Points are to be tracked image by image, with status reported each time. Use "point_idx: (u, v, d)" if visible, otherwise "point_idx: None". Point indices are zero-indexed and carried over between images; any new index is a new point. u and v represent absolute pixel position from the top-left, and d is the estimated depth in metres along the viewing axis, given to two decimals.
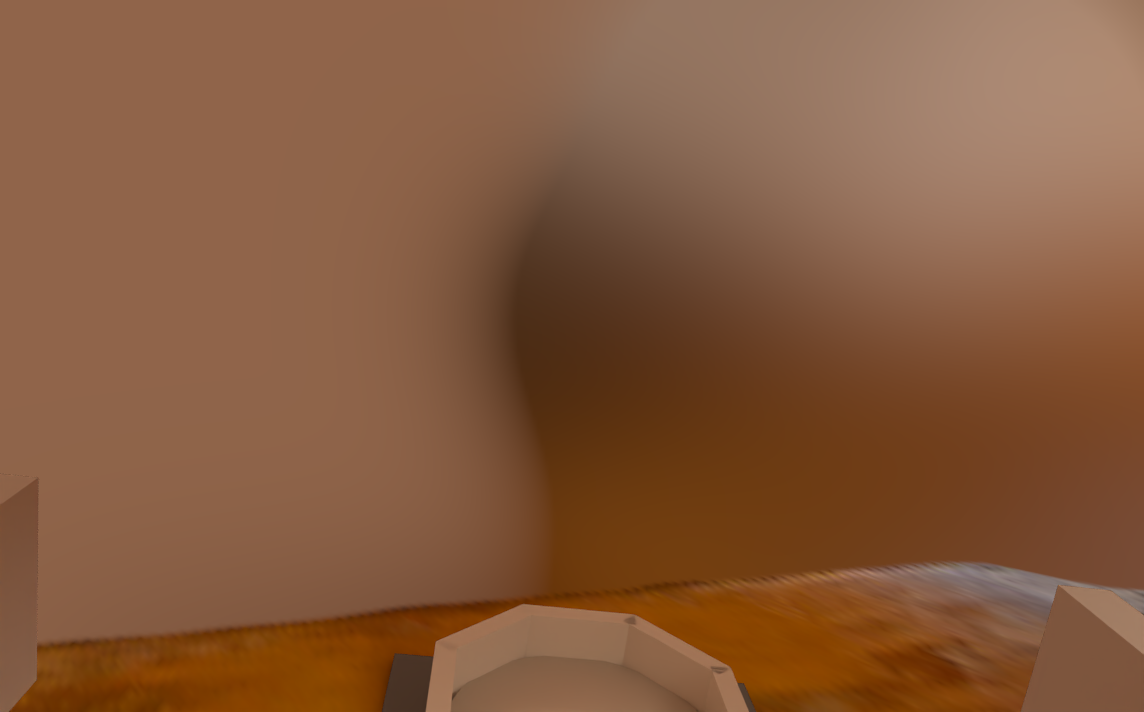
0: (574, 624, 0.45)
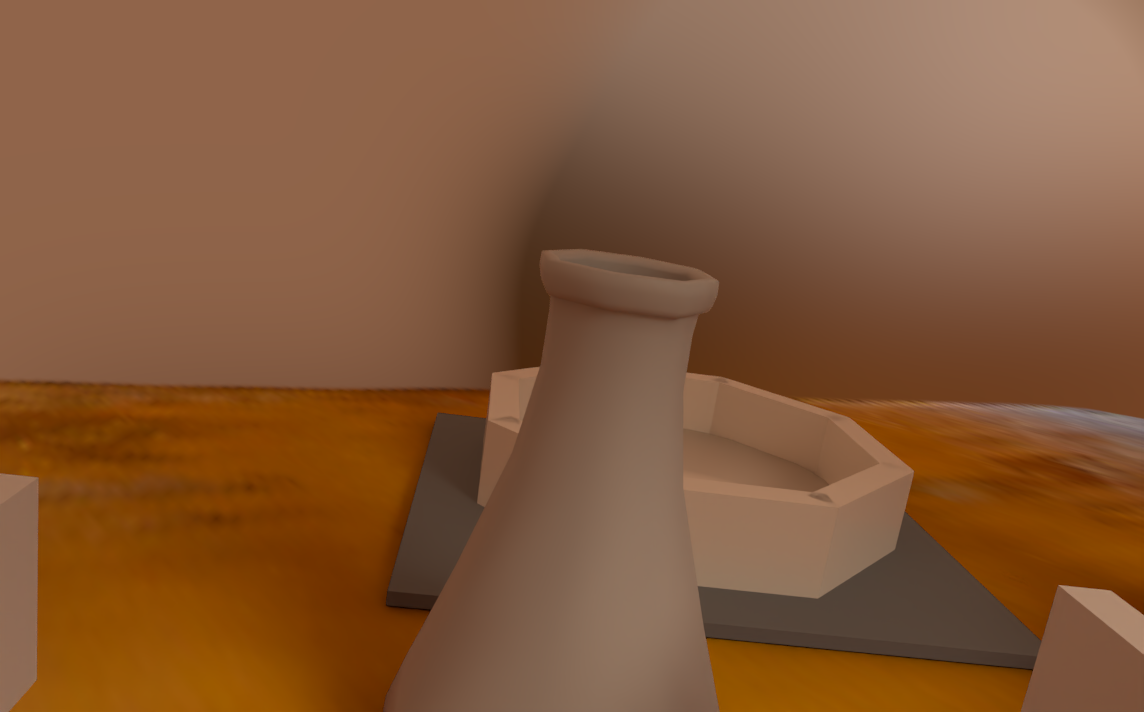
0: None
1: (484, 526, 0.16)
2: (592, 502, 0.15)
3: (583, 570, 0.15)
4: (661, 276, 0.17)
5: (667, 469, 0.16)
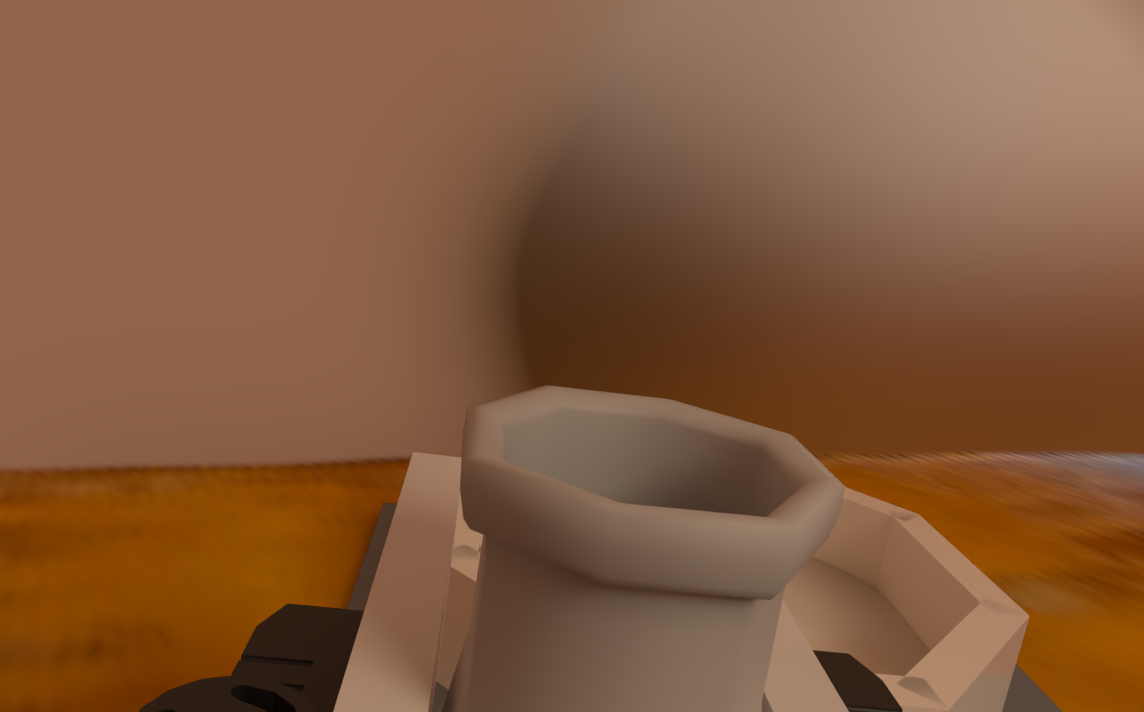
0: None
1: None
2: None
3: None
4: (710, 444, 0.08)
5: None
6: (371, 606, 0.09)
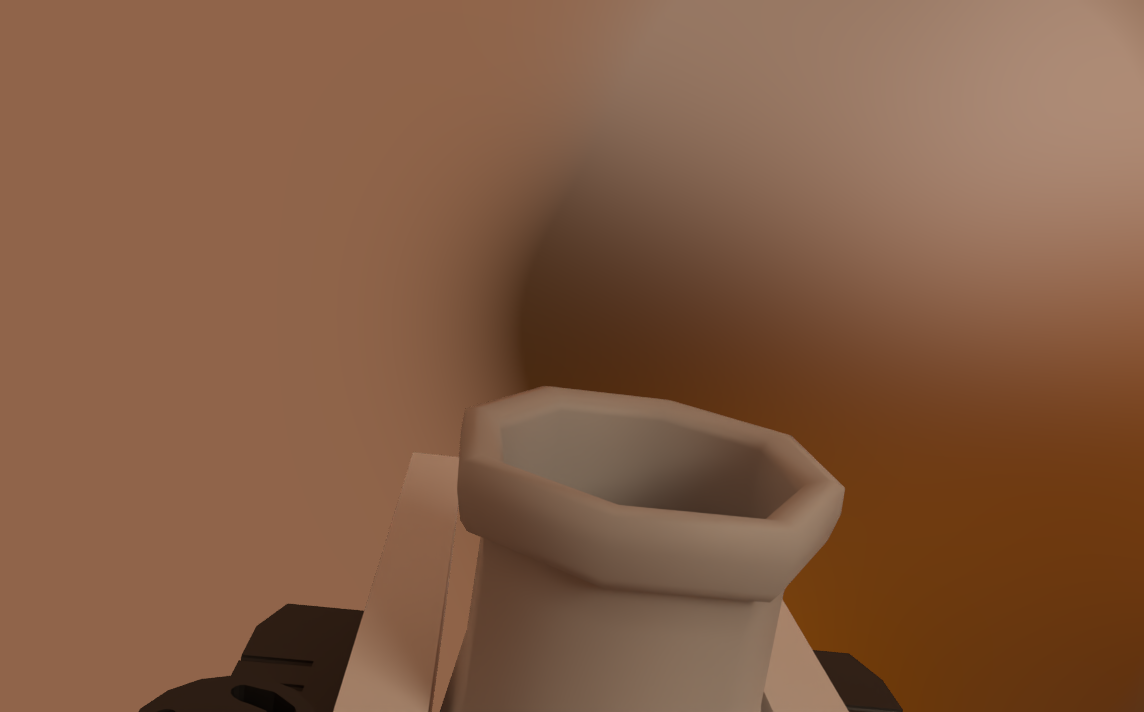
0: None
1: None
2: None
3: None
4: (709, 445, 0.08)
5: None
6: (371, 606, 0.09)
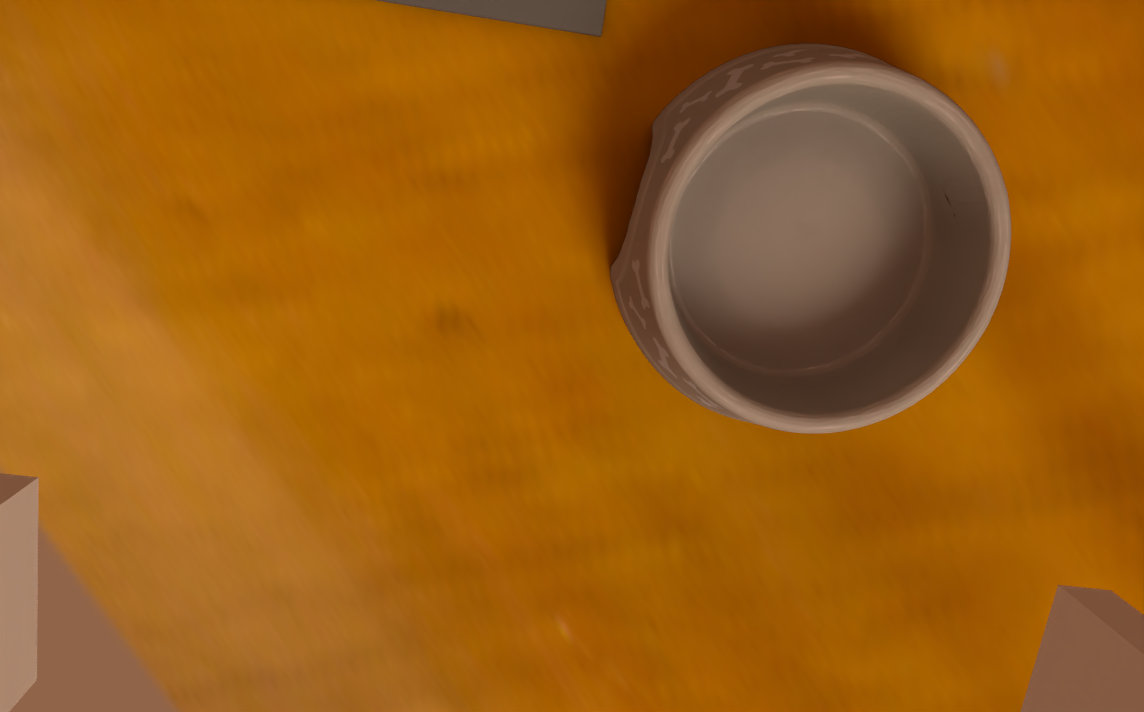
0: None
1: None
2: None
3: None
4: None
5: None
6: None
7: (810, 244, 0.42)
